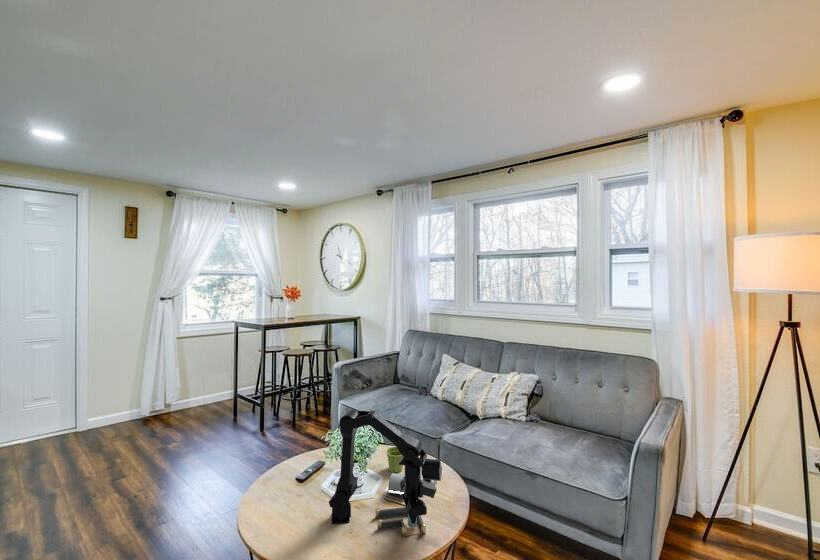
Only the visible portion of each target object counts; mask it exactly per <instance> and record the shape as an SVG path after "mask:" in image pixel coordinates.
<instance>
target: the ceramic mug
mask: <svg viewBox="0 0 820 560" xmlns="http://www.w3.org/2000/svg"><path fill="white" fill-rule="evenodd" d="M403 477H405V475H402V474H399V473H395V472H391V474H390V476H389V481H388V487H387V490H393V491H400V492H404V491H401V490H400V482H401V481H402V480H403ZM404 488H405V487H404Z"/></svg>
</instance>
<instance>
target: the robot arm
mask: <svg viewBox="0 0 820 560" xmlns="http://www.w3.org/2000/svg"><path fill="white" fill-rule="evenodd" d="M338 424H339V431H340V432H339V433H340V434H341V438H342V445H341V458H340V459H341V463H340V476H339V479H338V482H337V485H336V488H335V491H334V494H332V497H331V498H330V500H328V505H329V507H330V508H331V524H332V525H336V524H337V525H338V524H344V523H345V524H346V523H350V522H351V521H350V520H351V519H350V518H351V516H352V506H351V505H352V504H351V502H350V499H351V498H352V497H353V495H354V493H355V491H357V490H358V480H359V477H358V476H355V475H354V463H355V462H354V459H355V457H354V456H355V442H356V441H355V440H356V434H357V432H358V430H359V429H358V428H362V427H366V426H370V427H371V428H373V429H374V430H376V431H377V432H378V433H379V434H381V435H382V436H383V437H384V438H386V439H387V440H388V441H389V442H391V443H392V444H393V445H394V447H397V449H398V450H399V452H400V453H401V455H402V456H403V458H402V459H401V460H400V462H399V465H403V466H404V476H405V477H403V480H402V481H401V482H400V490H401V491H404V494H402V495H401V497H402V500H403V502H404V505H405V507H406V509H407V512H408V515H409V517H410V520H411V522H412V524H415V522H416V518H417V516H420V515H421V516H425V515H427V513H428V511H427V510H428V507H427V505H426V503H425V502H424V501H423V500H421V499H420V498H424V496H425V497H428V498H431V499H434V498H435V496H436V493H437V487H436V485H434V484H433V482H434V481H433V480H436V481H437V482H440V481H442V472H443V466H442V463H441V461H442V460H441V459H437V458H436V459H432V458H428V455H427V453H426V452H425V449H423V447H422V443H421V441H420V440H419V439H417V438H415V437H413V436H411V435H409V434H405V433H403V432H401V431H400V430H399V429H398V428H396V427H395V426H394V425H392V424H391V423H390V422H388V420H386V419H385V418H383V416H381V415H379V413H378V412H377V411H376V410H354V409H350V410H348V411H347V412H345V414H344V415H343V416H342V417H340V419H339V422H338ZM421 474H422V477H423V478H424V479H423V480H421ZM431 480H432V482H431ZM404 487H405V488H404ZM408 515H407V516H408Z"/></svg>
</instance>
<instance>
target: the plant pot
mask: <svg viewBox="0 0 820 560" xmlns="http://www.w3.org/2000/svg"><path fill="white" fill-rule="evenodd" d="M385 453H386V455H387V462H388V469H389V471H390V472H391V473H400V472H401V471H403V467H404V465H399V462H400V460H401V459H402V458H403V456H402V455H401V453H400V452H399V450H398V449H397V447H396V446H391V447H389V448H387V449H386V450H385Z"/></svg>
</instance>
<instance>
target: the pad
mask: <svg viewBox="0 0 820 560" xmlns="http://www.w3.org/2000/svg"><path fill="white" fill-rule="evenodd" d="M404 525H405V524H404ZM405 526H406V527H407V536H413V535H420V534H421V528H420V525H419V523H417V526H416V527H409V526H408V524H407V525H405ZM421 535H422V534H421Z"/></svg>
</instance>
